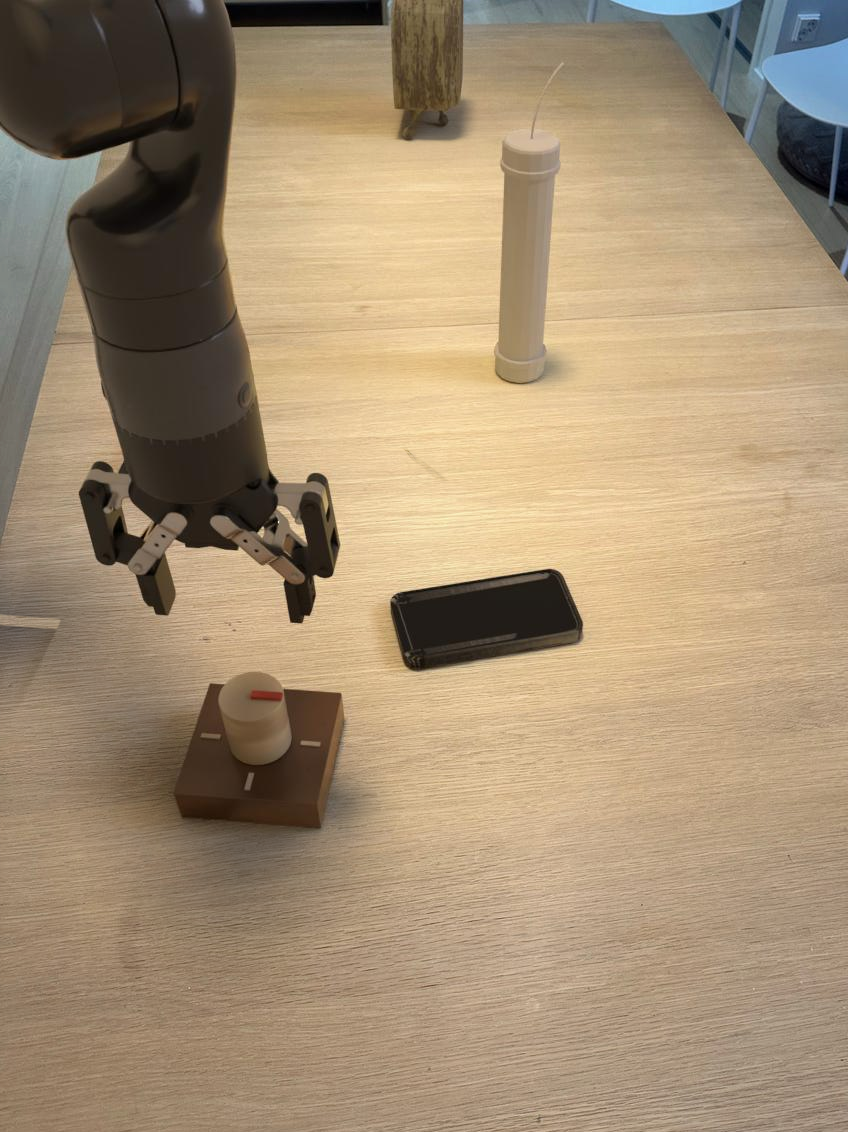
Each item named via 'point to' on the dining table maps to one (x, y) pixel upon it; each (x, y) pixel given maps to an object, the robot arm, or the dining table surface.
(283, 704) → the dial
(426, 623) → the phone
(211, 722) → the panel
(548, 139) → the dynamite stick
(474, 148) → the dining table surface
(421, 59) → the tabletop clock
